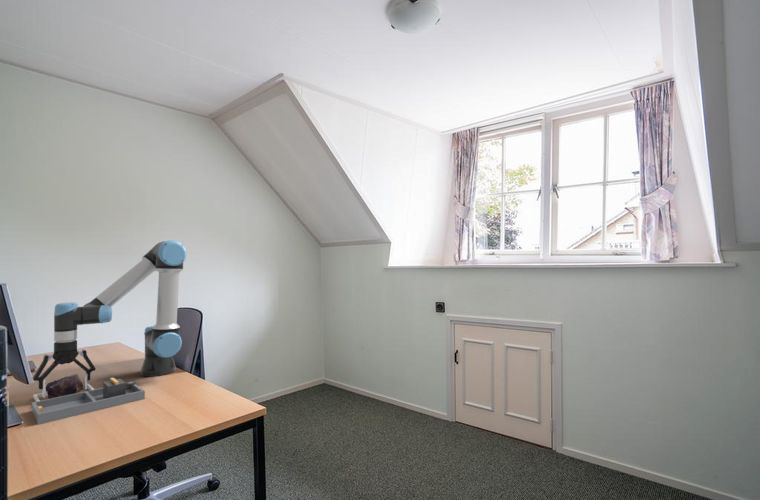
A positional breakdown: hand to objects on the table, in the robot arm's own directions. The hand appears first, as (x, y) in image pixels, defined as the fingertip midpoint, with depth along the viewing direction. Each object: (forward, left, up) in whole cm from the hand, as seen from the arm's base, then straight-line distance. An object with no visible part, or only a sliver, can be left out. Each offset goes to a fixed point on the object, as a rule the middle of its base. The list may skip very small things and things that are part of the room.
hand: (65, 392), depth 165 cm
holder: (-5, +18, -2) cm, 19 cm away
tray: (0, 0, -2) cm, 2 cm away
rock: (0, 0, -2) cm, 2 cm away
